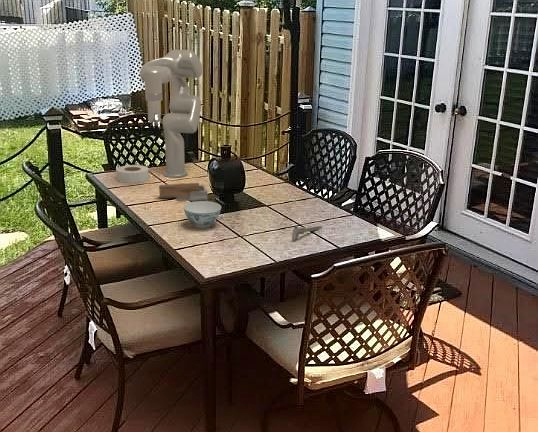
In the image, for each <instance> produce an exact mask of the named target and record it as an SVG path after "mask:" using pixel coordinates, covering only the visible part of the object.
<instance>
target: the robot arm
mask: <svg viewBox="0 0 538 432" xmlns="http://www.w3.org/2000/svg"><path fill="white" fill-rule="evenodd" d="M203 71H204V69H203V65H202V62H201V60H200V58H199V57H198V55H197V54H196V52H195V51H193V50H191V49H172V50H170V51H169V52H168V53H167V54H166V55H165V56H163V57H159V58H156V59H152V60H150V61H147V62H146V63H144V64H143V65H142V67H141V68H140V71H139V78H140V79H141V81H142V82H144V93H145V94H144V95H145V101H147V120H148V122H149V123H150V131H151V133H152V136H153V137H154V138H157V137H158V138H159V137H161V127H160V123H161V118H162V117H161V115H162V114H161V102H162V101H163V84H167V83H169V82H172V91H171V95H170V100H169V110H170V111H171V112H169V113H166V114H165V115H164V116H163V118H162V126H163V131H164V145H165V147H164V148H165V150H164V151H165V170H164V171H163V172H162V175H163V176H164V177H167V178H182V177H186V176H187V175H189V172H188V170H185V140H184V138H183V136H182V135H181V134H194V133H196V132H197V130H198V126H199V121H200V115H201V110H202V101H201V99H200V97H199V96H197V95H193V94H192V95H191V94H190V86H189V84H188V83H187V82H186V80H185V79H184V78H186V79H187V78H188V79H189V78H191V79H199V78H200V77H201V76H202V74H203Z"/></svg>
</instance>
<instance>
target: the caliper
mask: <svg viewBox="0 0 538 432" xmlns="http://www.w3.org/2000/svg"><path fill="white" fill-rule="evenodd" d="M322 228H324V226H322V225H320V224H319V225H313V226H307V227H305V226H300V227H299V225H294V227H293V229H292V233H291V240H292V242H296V241H299V237H300V235H305V233H307V232H312V231H319V230H321V229H322Z"/></svg>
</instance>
